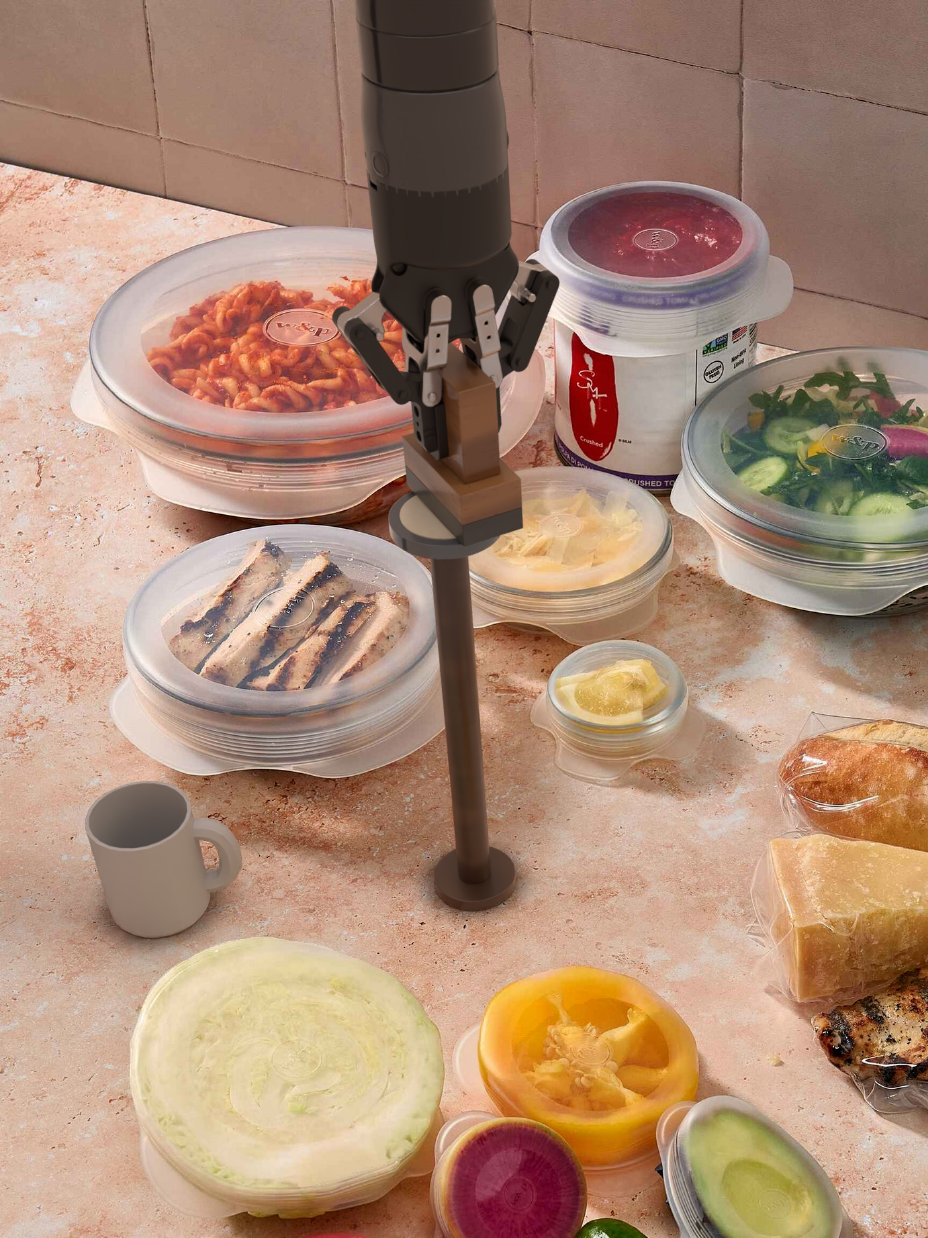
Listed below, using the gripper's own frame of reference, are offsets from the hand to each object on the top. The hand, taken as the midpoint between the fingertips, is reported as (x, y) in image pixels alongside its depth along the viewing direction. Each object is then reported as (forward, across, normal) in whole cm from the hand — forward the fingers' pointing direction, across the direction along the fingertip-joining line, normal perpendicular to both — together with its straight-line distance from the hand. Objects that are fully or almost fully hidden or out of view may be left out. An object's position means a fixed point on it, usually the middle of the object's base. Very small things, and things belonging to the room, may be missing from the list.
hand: (458, 445), depth 100 cm
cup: (+37, +21, -9) cm, 43 cm away
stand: (+36, +1, 0) cm, 37 cm away
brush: (+4, 0, 0) cm, 4 cm away
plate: (+5, +1, 0) cm, 6 cm away
